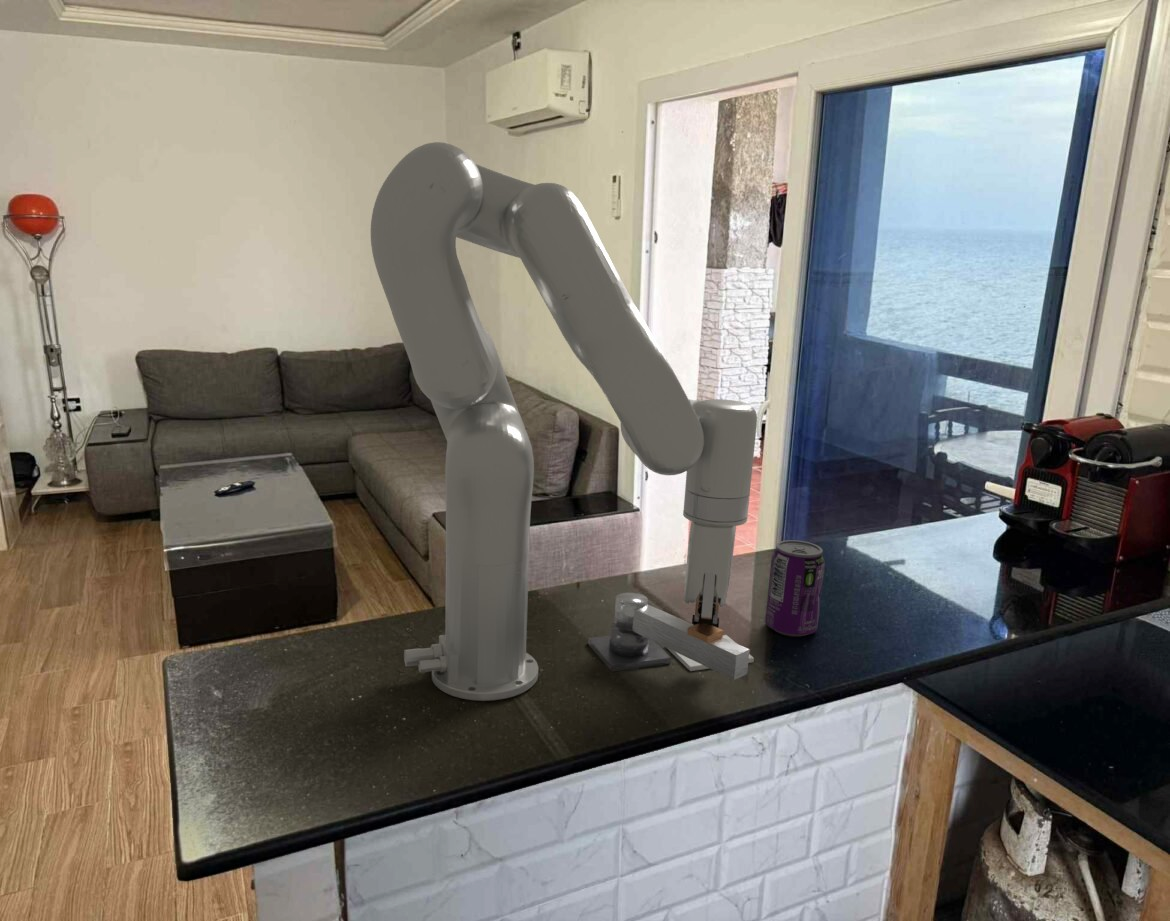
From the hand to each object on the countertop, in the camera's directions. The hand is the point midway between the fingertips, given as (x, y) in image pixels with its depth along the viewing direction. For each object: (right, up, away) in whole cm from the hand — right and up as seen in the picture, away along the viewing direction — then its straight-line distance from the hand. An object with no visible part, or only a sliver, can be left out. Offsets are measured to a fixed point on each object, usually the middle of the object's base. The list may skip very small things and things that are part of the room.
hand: (703, 648), depth 106 cm
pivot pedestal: (-9, -2, +5) cm, 10 cm away
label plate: (+1, -2, +5) cm, 6 cm away
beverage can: (+14, -1, +14) cm, 20 cm away
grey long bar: (-4, +1, -2) cm, 4 cm away
